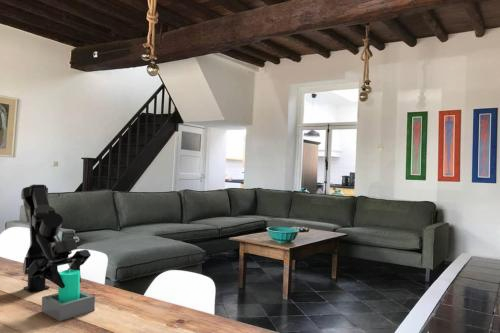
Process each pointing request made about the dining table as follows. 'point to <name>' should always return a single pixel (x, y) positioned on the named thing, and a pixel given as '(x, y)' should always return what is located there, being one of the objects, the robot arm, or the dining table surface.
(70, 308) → the box
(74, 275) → the candle
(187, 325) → the dining table surface
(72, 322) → the dining table surface
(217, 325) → the dining table surface
